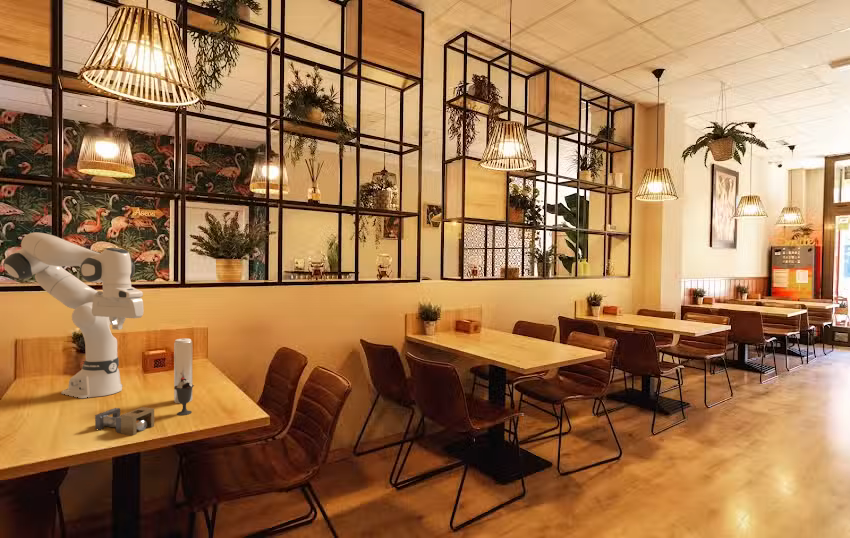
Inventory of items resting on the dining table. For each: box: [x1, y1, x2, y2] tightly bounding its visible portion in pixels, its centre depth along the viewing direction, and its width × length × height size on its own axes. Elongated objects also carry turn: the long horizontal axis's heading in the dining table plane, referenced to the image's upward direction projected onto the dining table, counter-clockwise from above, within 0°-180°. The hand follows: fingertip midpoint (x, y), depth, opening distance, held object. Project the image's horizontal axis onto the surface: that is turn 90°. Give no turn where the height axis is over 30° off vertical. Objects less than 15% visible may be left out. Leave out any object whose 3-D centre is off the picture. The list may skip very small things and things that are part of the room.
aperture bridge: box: [120, 406, 155, 436], centre depth 155 cm, size 5×8×6 cm, turn 166°
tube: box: [103, 415, 148, 432], centre depth 157 cm, size 18×3×3 cm, turn 76°
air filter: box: [173, 338, 193, 404], centre depth 186 cm, size 6×6×25 cm
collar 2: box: [115, 413, 139, 434], centre depth 156 cm, size 2×8×5 cm, turn 166°
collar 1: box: [94, 407, 121, 431], centre depth 158 cm, size 2×8×5 cm, turn 166°
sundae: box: [173, 373, 195, 416], centre depth 172 cm, size 7×7×15 cm
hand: (117, 329), depth 171 cm, fingers closed
